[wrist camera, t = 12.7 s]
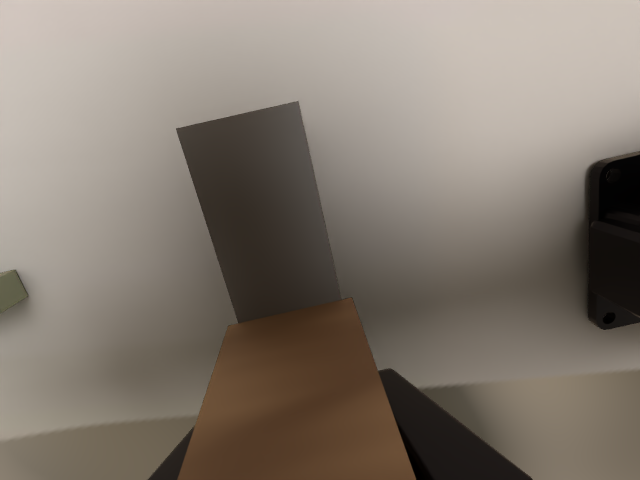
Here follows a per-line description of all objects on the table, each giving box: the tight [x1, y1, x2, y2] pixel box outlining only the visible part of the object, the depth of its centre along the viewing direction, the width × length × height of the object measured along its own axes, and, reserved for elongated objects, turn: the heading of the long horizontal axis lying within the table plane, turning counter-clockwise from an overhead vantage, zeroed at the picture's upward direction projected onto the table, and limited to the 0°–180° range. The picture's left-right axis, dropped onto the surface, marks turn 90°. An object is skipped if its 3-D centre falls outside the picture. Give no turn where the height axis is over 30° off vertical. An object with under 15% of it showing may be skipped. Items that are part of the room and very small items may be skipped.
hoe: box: [176, 101, 416, 480], centre depth 8 cm, size 3×12×9 cm, turn 12°
